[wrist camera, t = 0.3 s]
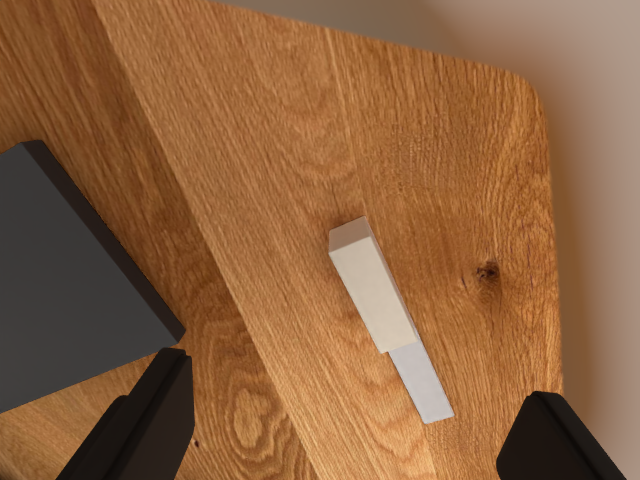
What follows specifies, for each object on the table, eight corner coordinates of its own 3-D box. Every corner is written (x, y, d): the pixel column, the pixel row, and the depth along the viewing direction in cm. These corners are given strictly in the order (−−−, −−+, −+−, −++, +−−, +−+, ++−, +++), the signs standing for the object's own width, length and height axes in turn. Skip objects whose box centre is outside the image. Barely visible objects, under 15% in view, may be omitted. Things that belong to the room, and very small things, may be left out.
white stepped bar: (328, 230, 22) (327, 253, 19) (365, 214, 22) (370, 235, 19) (422, 417, 29) (433, 459, 25) (452, 408, 28) (467, 450, 25)
